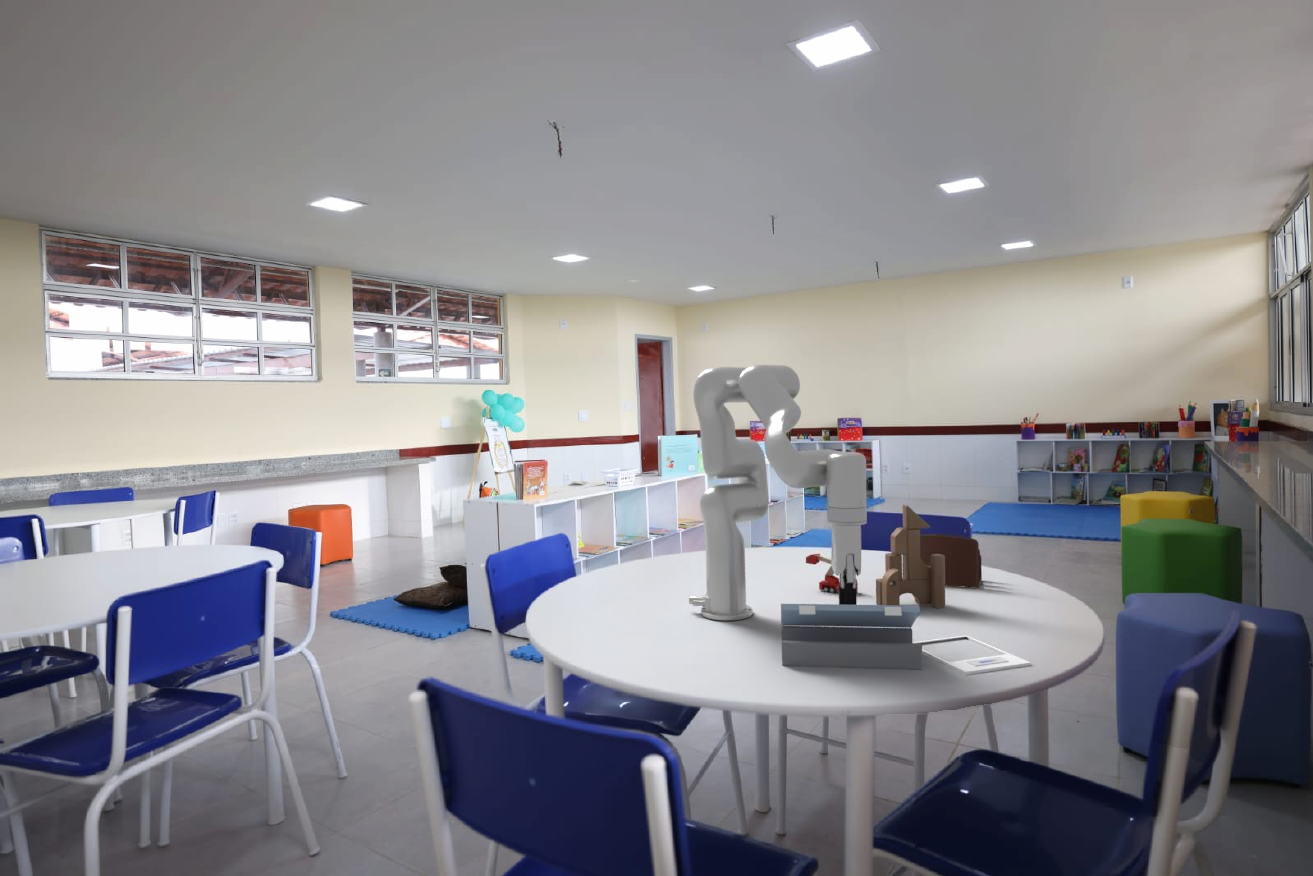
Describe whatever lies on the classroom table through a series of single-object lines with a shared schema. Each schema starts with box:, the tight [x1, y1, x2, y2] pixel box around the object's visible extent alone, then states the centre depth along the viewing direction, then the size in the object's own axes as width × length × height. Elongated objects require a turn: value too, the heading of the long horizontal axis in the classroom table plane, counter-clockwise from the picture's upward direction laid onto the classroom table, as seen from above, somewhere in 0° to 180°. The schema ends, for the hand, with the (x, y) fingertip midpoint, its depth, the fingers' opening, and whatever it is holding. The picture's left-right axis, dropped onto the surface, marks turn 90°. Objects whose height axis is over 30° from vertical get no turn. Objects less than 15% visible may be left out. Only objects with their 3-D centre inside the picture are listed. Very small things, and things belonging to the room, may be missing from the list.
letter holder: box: [902, 533, 983, 589], centre depth 204 cm, size 10×20×14 cm, turn 62°
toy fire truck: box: [805, 553, 859, 594], centre depth 197 cm, size 3×14×10 cm, turn 58°
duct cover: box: [780, 603, 921, 629], centre depth 145 cm, size 26×12×2 cm
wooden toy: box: [875, 504, 946, 609], centre depth 180 cm, size 16×7×25 cm, turn 94°
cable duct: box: [780, 625, 923, 670], centre depth 144 cm, size 26×11×4 cm, turn 81°
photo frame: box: [912, 635, 1032, 676], centre depth 144 cm, size 15×1×18 cm
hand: (847, 607), depth 144 cm, fingers closed
